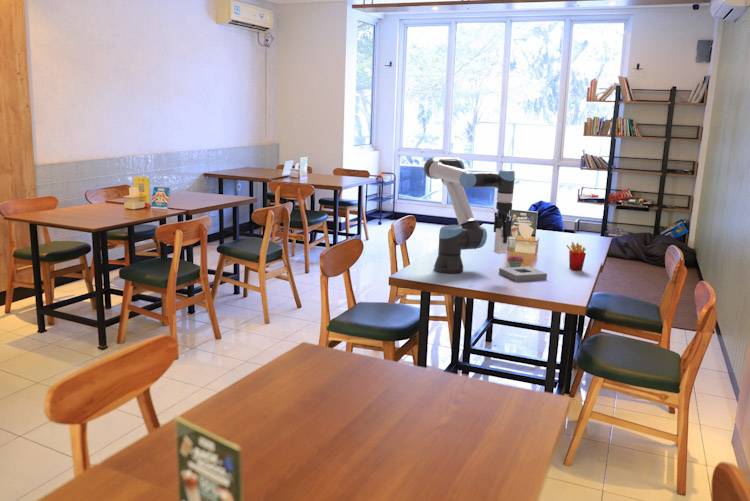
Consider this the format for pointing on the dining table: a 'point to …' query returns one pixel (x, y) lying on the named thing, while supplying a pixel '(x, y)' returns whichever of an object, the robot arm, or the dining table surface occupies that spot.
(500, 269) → the socket
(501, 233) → the plug
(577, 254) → the french fries
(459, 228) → the robot arm
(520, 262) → the cupcake
